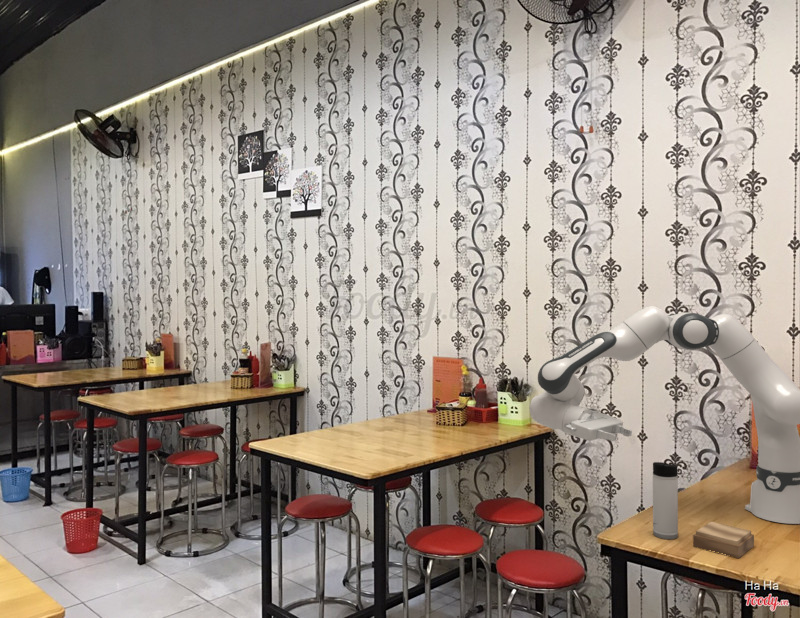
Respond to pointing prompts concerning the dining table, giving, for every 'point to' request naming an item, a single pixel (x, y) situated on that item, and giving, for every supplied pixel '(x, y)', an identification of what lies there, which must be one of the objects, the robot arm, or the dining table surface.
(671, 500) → the travel mug
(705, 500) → the dining table surface
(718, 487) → the dining table surface
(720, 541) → the plinth
